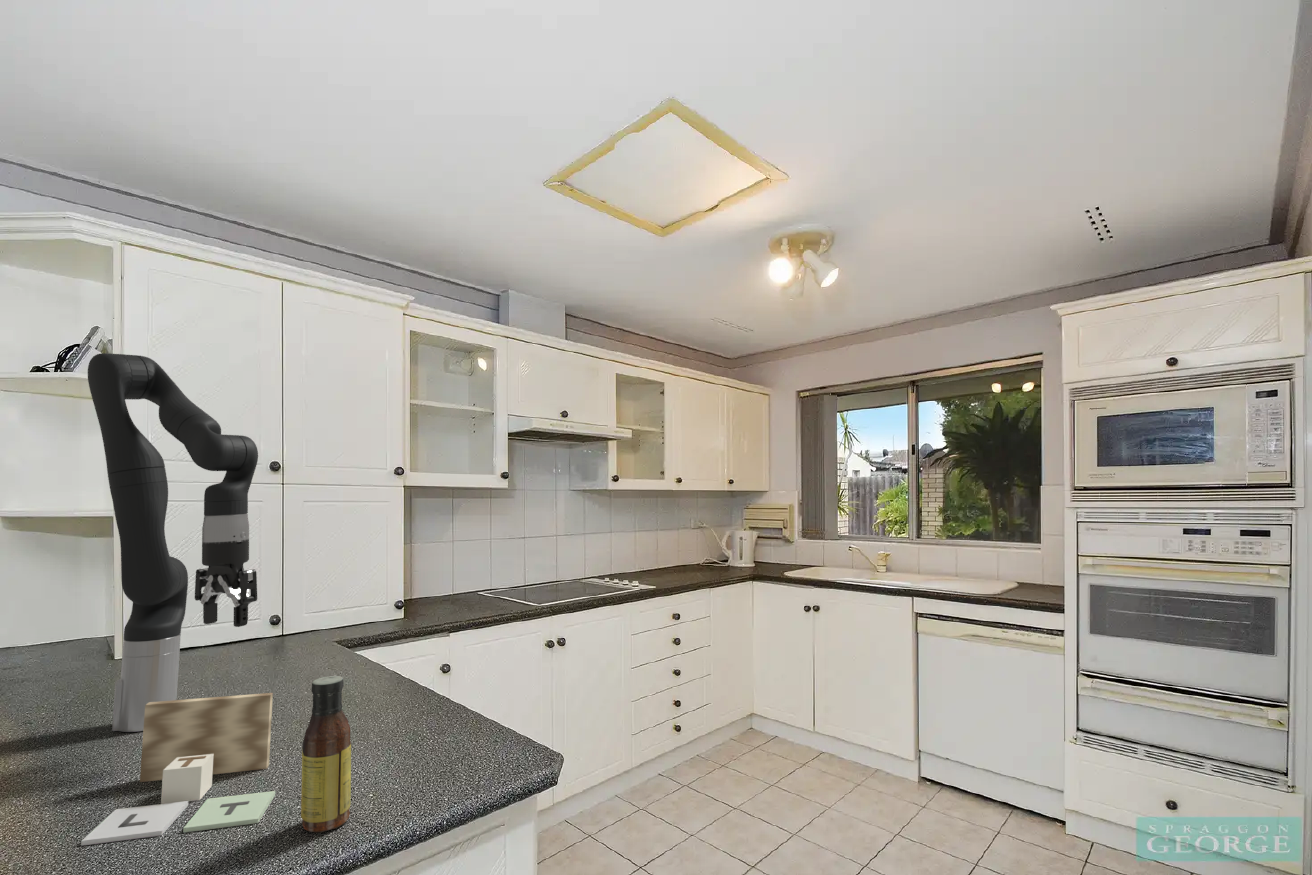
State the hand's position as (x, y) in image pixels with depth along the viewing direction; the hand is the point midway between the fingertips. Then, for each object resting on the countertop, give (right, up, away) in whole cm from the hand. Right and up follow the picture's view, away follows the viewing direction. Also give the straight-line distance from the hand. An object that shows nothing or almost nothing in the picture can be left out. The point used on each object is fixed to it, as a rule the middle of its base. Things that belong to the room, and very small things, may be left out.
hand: (225, 624), depth 123 cm
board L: (+9, -19, -32) cm, 38 cm away
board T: (+20, -19, -29) cm, 40 cm away
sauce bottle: (+35, -19, -32) cm, 51 cm away
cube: (+10, -20, -23) cm, 32 cm away
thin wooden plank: (+7, -20, -16) cm, 27 cm away
